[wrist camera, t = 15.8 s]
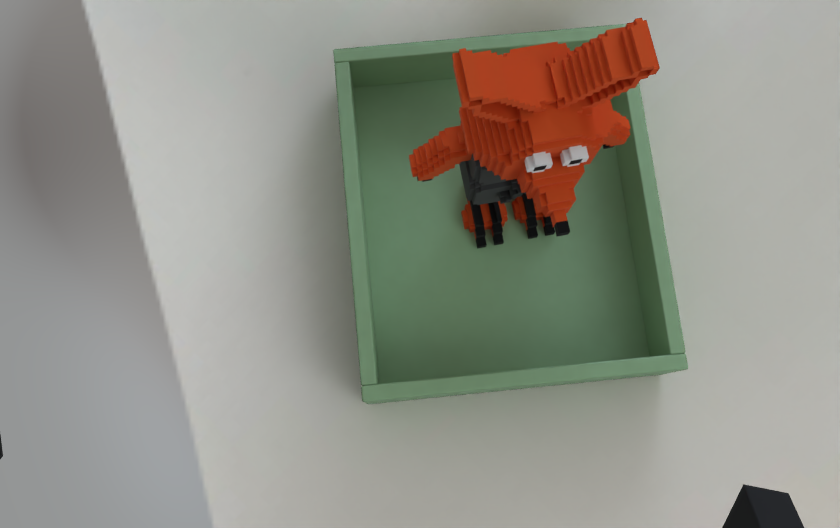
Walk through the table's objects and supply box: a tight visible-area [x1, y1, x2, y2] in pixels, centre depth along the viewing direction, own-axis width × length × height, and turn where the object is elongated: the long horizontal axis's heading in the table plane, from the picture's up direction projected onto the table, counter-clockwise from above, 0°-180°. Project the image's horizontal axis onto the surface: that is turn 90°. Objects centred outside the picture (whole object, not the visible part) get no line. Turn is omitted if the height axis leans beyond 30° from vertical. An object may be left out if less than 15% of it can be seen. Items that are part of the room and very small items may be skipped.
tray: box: [333, 24, 688, 404], centre depth 31 cm, size 14×12×3 cm
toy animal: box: [409, 18, 660, 249], centre depth 26 cm, size 8×6×12 cm
